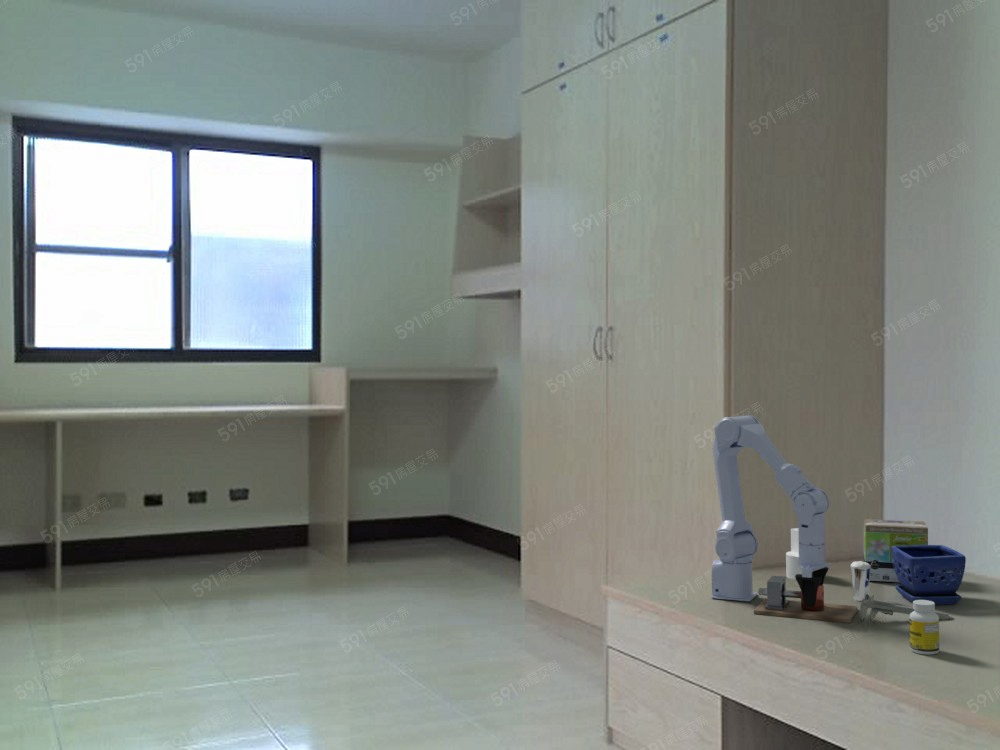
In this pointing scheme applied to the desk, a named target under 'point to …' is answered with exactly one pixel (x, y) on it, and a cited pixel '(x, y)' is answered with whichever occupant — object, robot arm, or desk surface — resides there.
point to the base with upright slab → (793, 556)
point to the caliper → (888, 608)
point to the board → (811, 612)
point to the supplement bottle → (924, 628)
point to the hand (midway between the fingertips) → (812, 602)
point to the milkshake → (860, 579)
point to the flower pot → (928, 572)
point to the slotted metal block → (776, 593)
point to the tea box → (889, 544)
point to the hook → (798, 594)
